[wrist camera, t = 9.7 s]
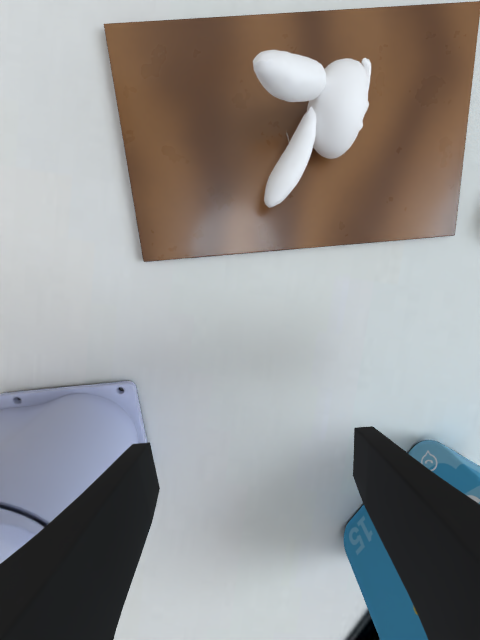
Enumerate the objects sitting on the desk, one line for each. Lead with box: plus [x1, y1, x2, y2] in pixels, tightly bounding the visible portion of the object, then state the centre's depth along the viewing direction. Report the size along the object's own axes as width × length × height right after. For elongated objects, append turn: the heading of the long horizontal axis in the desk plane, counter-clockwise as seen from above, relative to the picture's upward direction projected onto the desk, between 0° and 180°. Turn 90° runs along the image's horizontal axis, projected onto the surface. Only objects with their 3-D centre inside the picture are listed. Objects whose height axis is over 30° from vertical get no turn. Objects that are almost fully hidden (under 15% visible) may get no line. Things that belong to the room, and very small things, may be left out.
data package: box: [344, 440, 480, 640], centre depth 17 cm, size 12×4×12 cm, turn 148°
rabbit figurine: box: [253, 50, 371, 208], centre depth 14 cm, size 6×4×8 cm
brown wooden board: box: [104, 1, 480, 262], centre depth 16 cm, size 20×12×1 cm, turn 95°
